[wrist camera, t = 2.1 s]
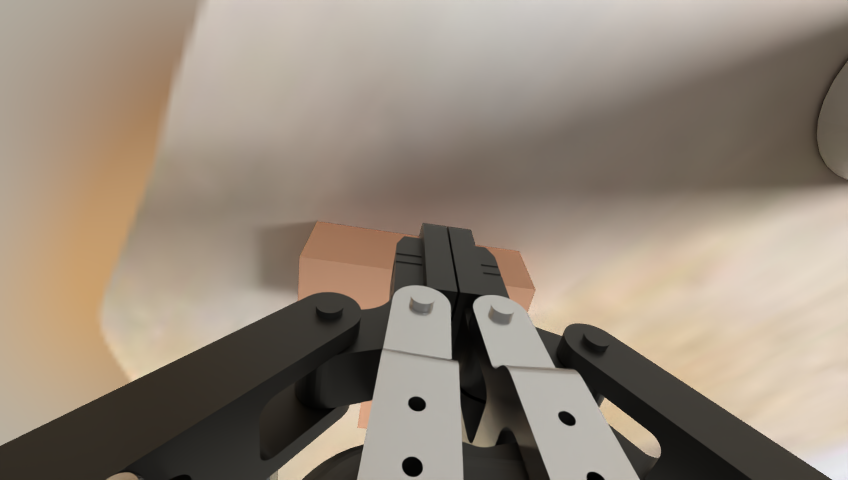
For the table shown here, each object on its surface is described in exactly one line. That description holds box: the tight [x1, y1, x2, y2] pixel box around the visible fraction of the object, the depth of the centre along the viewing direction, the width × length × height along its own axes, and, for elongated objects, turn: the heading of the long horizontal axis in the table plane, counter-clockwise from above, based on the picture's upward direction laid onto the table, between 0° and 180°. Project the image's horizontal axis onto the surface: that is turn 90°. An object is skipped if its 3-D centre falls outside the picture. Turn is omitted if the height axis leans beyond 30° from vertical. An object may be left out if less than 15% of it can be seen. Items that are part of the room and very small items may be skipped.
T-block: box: [298, 221, 535, 429], centre depth 25 cm, size 12×12×4 cm
